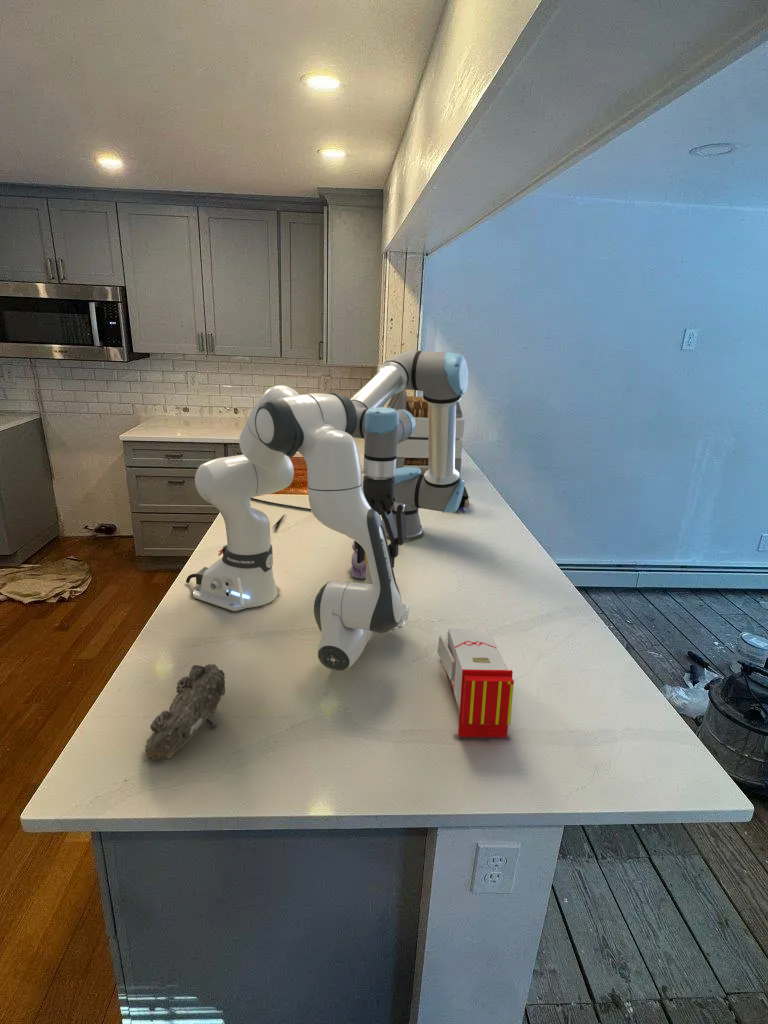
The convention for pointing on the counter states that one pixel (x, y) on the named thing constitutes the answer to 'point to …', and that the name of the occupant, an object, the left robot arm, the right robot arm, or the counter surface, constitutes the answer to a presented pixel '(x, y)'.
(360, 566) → the figurine
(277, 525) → the feather
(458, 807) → the counter surface
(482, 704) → the toy
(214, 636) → the counter surface
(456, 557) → the counter surface
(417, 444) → the slatted wooden crate
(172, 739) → the fossil
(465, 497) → the figurine character
